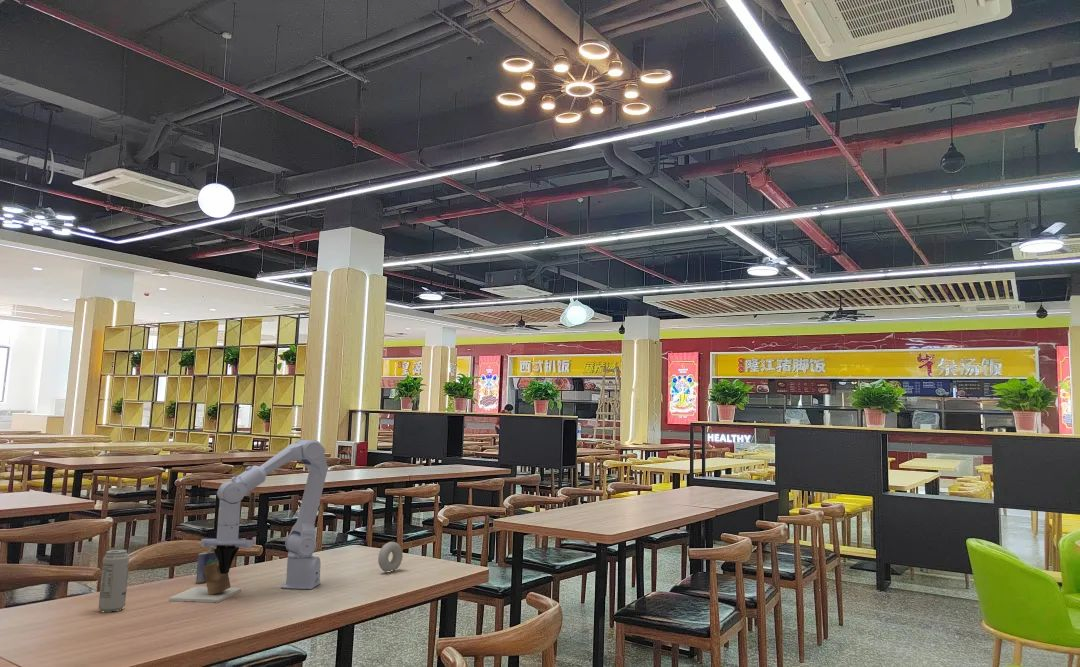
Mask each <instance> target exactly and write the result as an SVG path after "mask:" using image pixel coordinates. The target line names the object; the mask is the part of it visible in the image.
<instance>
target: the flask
mask: <svg viewBox="0 0 1080 667" xmlns="http://www.w3.org/2000/svg"><path fill="white" fill-rule="evenodd" d="M214 549H215V547H213V546H209V550H208V551H205V552H200V553H198V555H197V566H196V577H195V584H196V583H197V584H198V585H200V584H202V583H203V584H206V578H205V573H204V568H203V567H204V566H206V565H209V564H212V563H214V562H218V558H217V556H216V554H215V552H214Z"/></svg>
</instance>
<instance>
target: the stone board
mask: <svg viewBox="0 0 1080 667" xmlns="http://www.w3.org/2000/svg"><path fill="white" fill-rule="evenodd" d="M240 592H242V587H230V588H228V589H226V590H224V591H222V592H219V593H216V594H212V595H209V594H208V589H207V586H194V587H191V588H188V589H186V590H184V591H182V592H180V593H177V594H174V595H172V596H170V597H168V602H184V601H190V602H191V601H195V602H194V603H214V602H216V604H217V603H220V602H222V601H224V600H227V599H228V598H230V597H232V596H234V595H236V594H238V593H240ZM191 603H192V602H191Z"/></svg>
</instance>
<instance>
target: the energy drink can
mask: <svg viewBox="0 0 1080 667" xmlns="http://www.w3.org/2000/svg"><path fill="white" fill-rule="evenodd" d="M129 564H130V556H129V554H128V550H127V549H110V550H107V551H105V555H104V556H103V558H102V564H101V577H100V587H99V589H100V590H99V600H98V609H99V610H100V612H101V611H104V612H110V613H112V612H111V611H117V610H120V609H122V608H123V609H124V607H125V606H126V602H127V601H126V599H127V589H128V588H127V586H128V577H129V576H128V575H129V566H130V565H129ZM123 609H122V610H123ZM104 612H103V613H104ZM117 612H118V611H117Z"/></svg>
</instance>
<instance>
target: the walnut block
mask: <svg viewBox="0 0 1080 667" xmlns="http://www.w3.org/2000/svg"><path fill="white" fill-rule="evenodd" d="M203 568H204V573H205V578H206V583H205V584H206V587H207V589H208V594H209V595H212V594H216V593H219V592H222V591H224V590H226V589H228V588H232V587H231V582H230V577H229V573H226V574H221V569H220V564H219V561H218V562H214V563H212V564H209V565H206V566H204V567H203Z"/></svg>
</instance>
